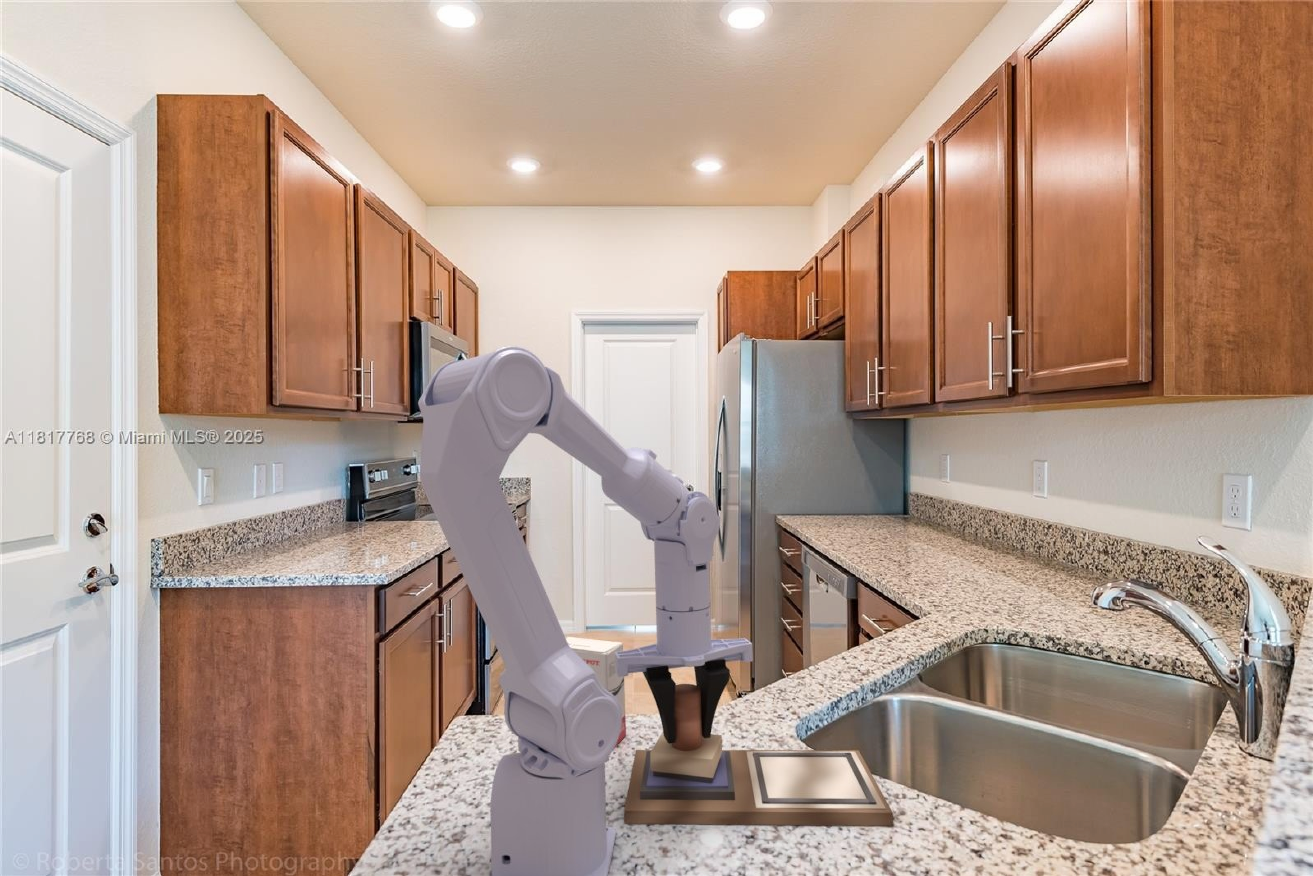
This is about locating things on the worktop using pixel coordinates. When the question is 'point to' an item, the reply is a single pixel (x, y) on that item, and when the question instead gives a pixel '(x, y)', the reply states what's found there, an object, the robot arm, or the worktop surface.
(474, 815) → the worktop surface
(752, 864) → the worktop surface
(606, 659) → the ink box
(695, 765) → the stamp
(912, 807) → the worktop surface
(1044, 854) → the worktop surface
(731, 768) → the desk board
